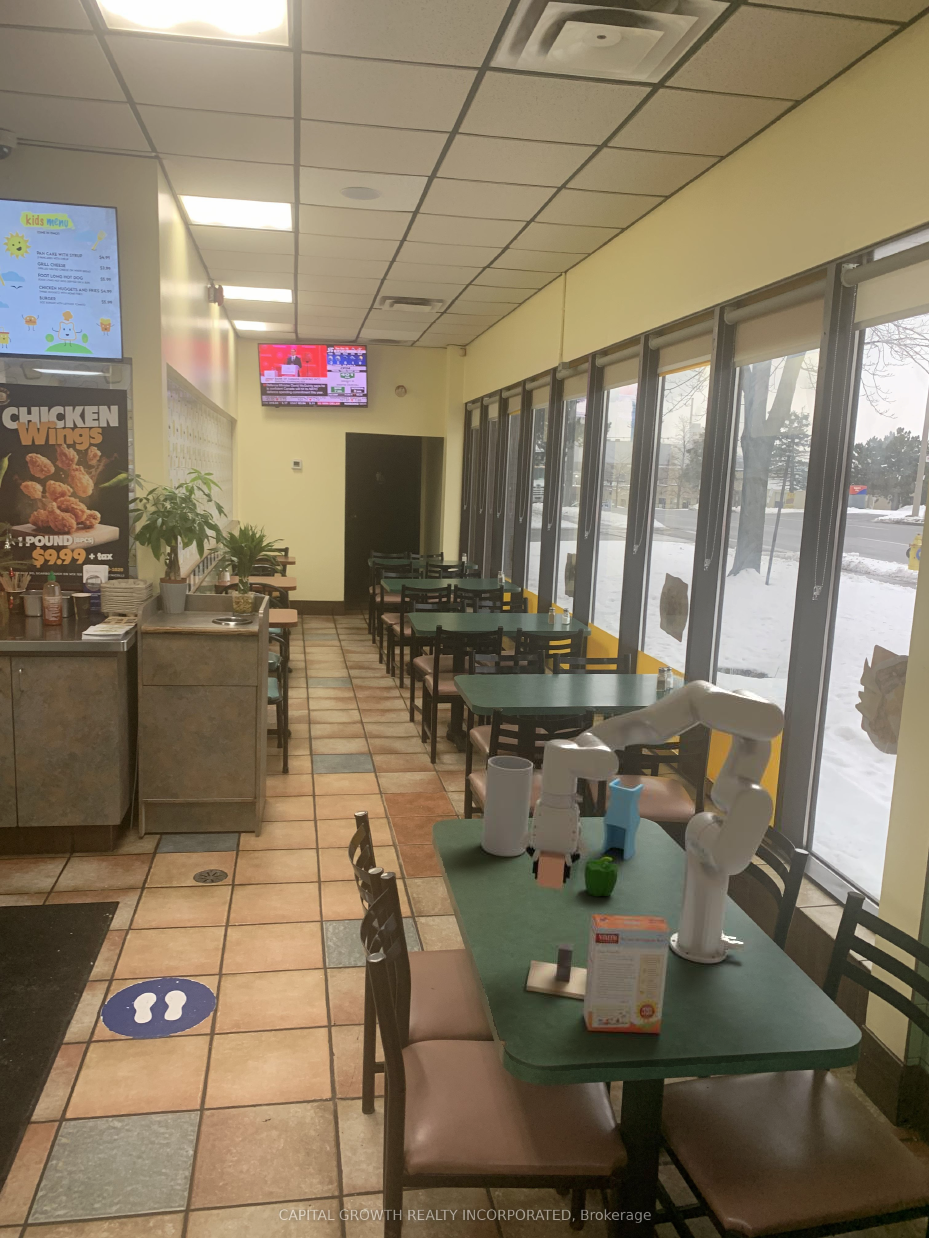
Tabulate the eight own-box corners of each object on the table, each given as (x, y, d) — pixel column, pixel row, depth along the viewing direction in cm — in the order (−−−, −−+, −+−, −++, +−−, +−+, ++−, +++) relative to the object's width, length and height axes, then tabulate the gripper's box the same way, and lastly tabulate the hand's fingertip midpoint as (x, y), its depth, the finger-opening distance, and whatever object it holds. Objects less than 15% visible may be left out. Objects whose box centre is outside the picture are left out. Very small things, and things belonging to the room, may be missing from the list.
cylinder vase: (505, 836, 260) (511, 753, 256) (534, 851, 250) (542, 765, 246) (472, 845, 252) (478, 759, 248) (501, 861, 242) (509, 772, 238)
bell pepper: (574, 890, 227) (578, 853, 226) (595, 883, 233) (599, 846, 231) (600, 903, 221) (604, 865, 220) (621, 895, 227) (625, 858, 225)
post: (597, 975, 188) (601, 939, 186) (596, 1001, 178) (599, 963, 177) (531, 964, 190) (534, 929, 189) (526, 989, 180) (529, 952, 179)
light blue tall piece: (636, 851, 256) (643, 784, 253) (626, 860, 249) (633, 791, 246) (611, 844, 260) (617, 778, 257) (600, 852, 253) (607, 784, 250)
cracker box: (652, 1016, 174) (663, 915, 171) (660, 1035, 168) (672, 931, 165) (581, 1012, 174) (591, 911, 171) (586, 1031, 168) (597, 927, 165)
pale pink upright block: (563, 878, 195) (566, 850, 194) (561, 889, 190) (564, 860, 189) (539, 875, 196) (541, 846, 195) (536, 885, 191) (539, 856, 190)
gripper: (599, 797, 192) (591, 877, 195) (520, 787, 195) (513, 866, 198) (597, 809, 185) (589, 892, 188) (515, 798, 188) (509, 880, 190)
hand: (550, 877), depth 193 cm, fingers closed on pale pink upright block, 5 cm apart
